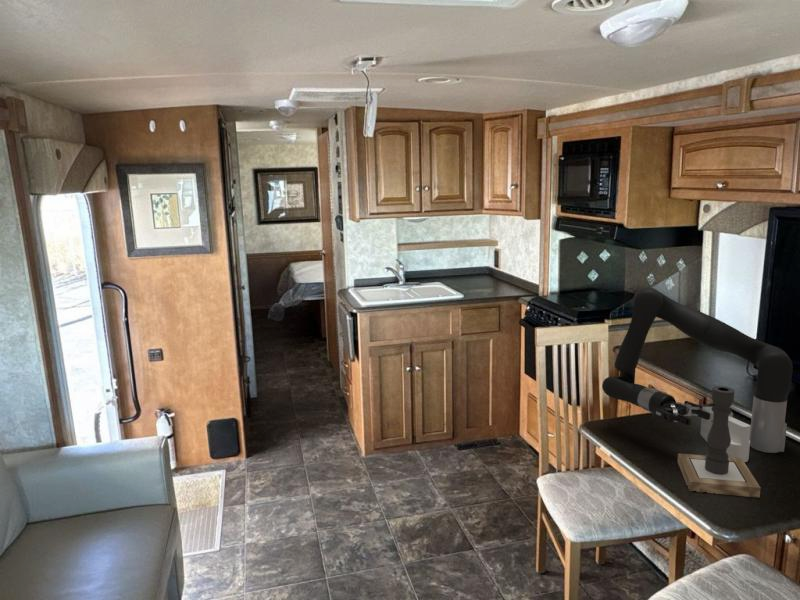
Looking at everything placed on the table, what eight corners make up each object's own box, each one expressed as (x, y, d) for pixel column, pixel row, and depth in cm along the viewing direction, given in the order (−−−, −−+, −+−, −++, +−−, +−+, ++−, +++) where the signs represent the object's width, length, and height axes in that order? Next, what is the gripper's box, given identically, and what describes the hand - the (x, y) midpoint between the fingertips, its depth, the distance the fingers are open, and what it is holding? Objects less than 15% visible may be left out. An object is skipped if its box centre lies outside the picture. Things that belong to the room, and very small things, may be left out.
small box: (724, 435, 208) (726, 406, 206) (731, 442, 203) (733, 412, 201) (699, 435, 209) (701, 406, 207) (706, 442, 204) (708, 412, 202)
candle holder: (701, 469, 179) (708, 389, 174) (708, 462, 184) (715, 384, 178) (724, 476, 175) (731, 394, 170) (731, 469, 179) (738, 388, 174)
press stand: (740, 467, 186) (741, 458, 185) (759, 497, 169) (760, 487, 168) (677, 462, 190) (678, 453, 190) (689, 491, 173) (690, 481, 173)
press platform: (732, 469, 184) (733, 462, 183) (744, 489, 173) (745, 481, 172) (689, 466, 187) (690, 458, 186) (698, 485, 175) (699, 477, 175)
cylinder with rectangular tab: (709, 452, 196) (712, 418, 194) (731, 448, 199) (734, 413, 196) (733, 465, 188) (736, 428, 185) (755, 460, 191) (758, 424, 188)
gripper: (640, 395, 193) (684, 412, 179) (672, 387, 199) (716, 403, 185) (639, 417, 194) (682, 436, 180) (670, 408, 201) (714, 426, 186)
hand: (699, 419), depth 182 cm, fingers open, 8 cm apart
